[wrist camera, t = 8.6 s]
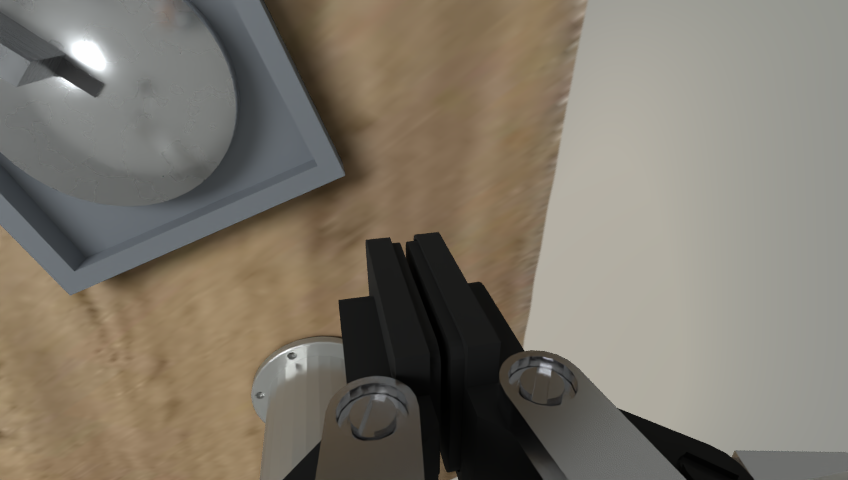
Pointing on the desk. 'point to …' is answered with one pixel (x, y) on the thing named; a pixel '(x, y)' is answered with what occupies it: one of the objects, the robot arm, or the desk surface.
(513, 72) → the desk surface
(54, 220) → the square tray
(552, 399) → the robot arm
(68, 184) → the dial
